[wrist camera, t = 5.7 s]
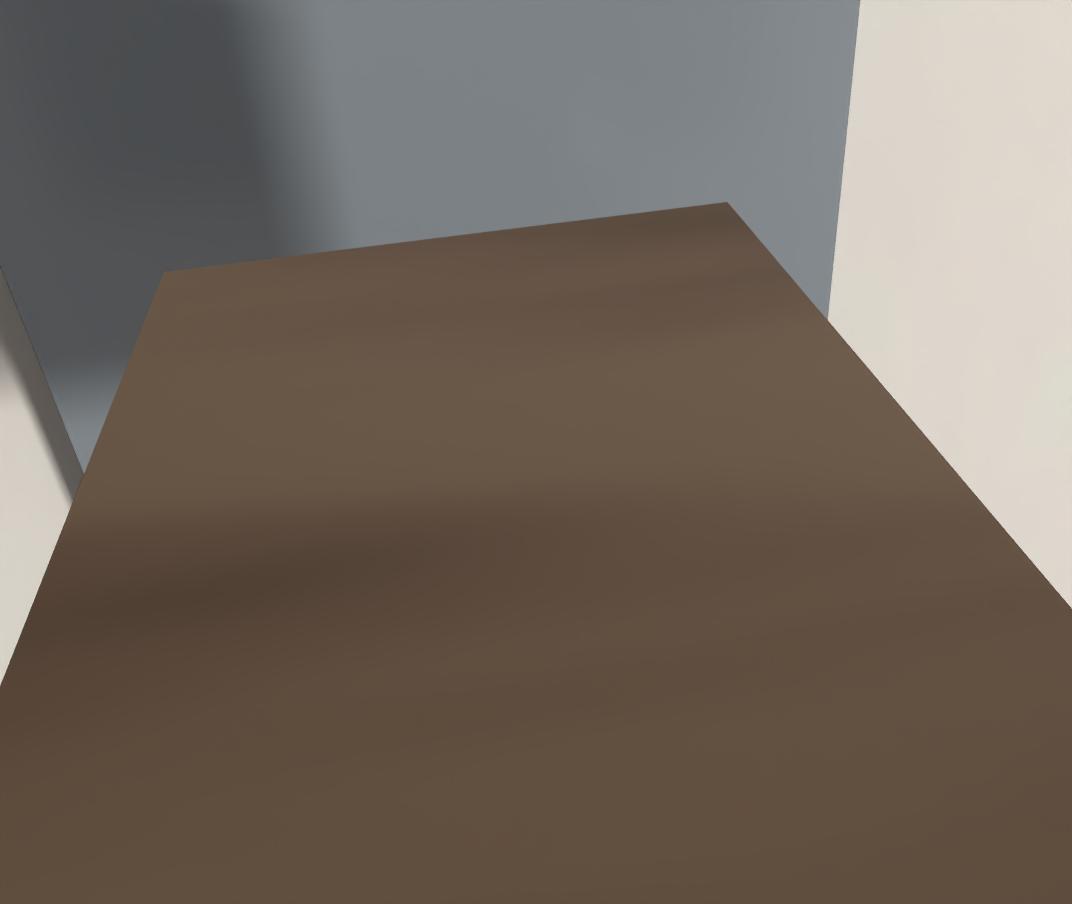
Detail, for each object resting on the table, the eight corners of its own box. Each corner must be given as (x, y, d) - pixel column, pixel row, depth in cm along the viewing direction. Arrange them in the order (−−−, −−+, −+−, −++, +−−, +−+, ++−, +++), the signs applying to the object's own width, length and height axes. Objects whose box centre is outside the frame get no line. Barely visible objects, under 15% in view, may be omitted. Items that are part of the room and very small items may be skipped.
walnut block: (713, 609, 12) (1141, 1633, 5) (286, 675, 12) (187, 1865, 5) (726, 202, 9) (1665, 1311, 3) (163, 272, 9) (-437, 1782, 2)
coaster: (791, 522, 18) (804, 544, 17) (157, 617, 17) (151, 642, 17) (860, -228, 12) (883, -226, 11) (-136, -136, 11) (-159, -132, 10)
